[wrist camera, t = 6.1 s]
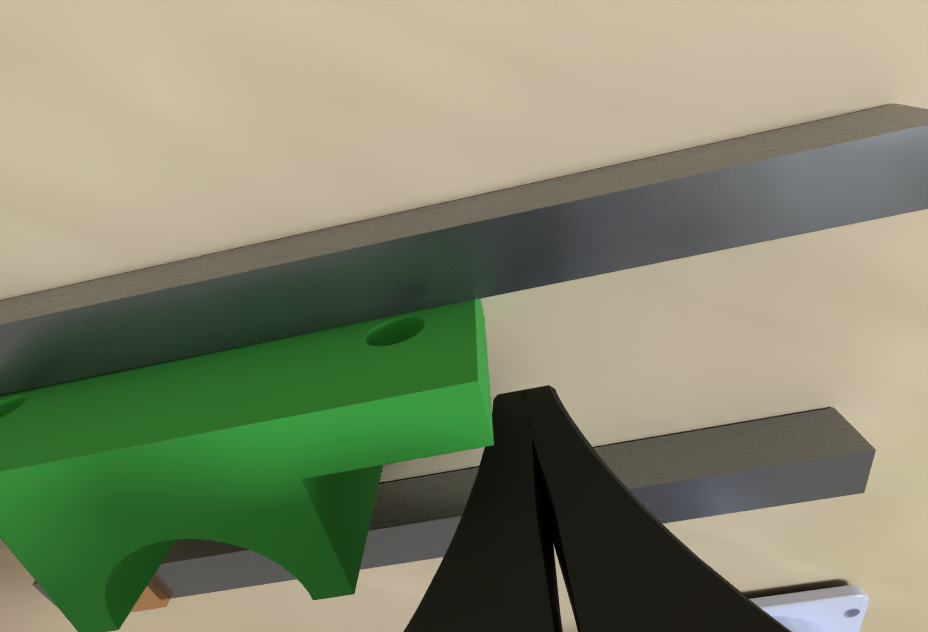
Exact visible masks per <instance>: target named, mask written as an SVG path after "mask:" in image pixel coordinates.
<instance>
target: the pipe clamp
mask: <svg viewBox="0 0 928 632" xmlns="http://www.w3.org/2000/svg"><path fill="white" fill-rule="evenodd" d="M491 445H494V438H493V425H492V411H491V398H490V385H489V372H488V358H487V345H486V332H485V319H484V314H483V310H482V305H481V301H480V299H474V300H469V301H464V302H460V303H455V304H450V305H445V306H440V307H435V308H430V309H425V310H420V311H415V312H410V313H405V314H400V315H395V316H390V317H385V318H380V319H375V320H370V321H365V322H360V323H355V324H350V325H345V326H340V327H335V328H330V329H325V330H320V331H315V332H310V333H305V334H300V335H295V336H290V337H285V338H280V339H275V340H270V341H266V342H261V343H256V344H251V345H246V346H241V347H236V348H231V349H226V350H221V351H216V352H211V353H206V354H201V355H196V356H191V357H186V358H181V359H176V360H171V361H166V362H161V363H156V364H151V365H146V366H141V367H136V368H131V369H126V370H121V371H116V372H111V373H106V374H101V375H96V376H91V377H86V378H81V379H76V380H71V381H66V382H61V383H56V384H51V385H46V386H41V387H36V388H31V389H26V390H21V391H16V392H11V393H6V394H1V395H0V538H1V539H2V540H3V541H4V543H5V544H6V545H7V546H8V547H9V549H10V550H11V551H12V552H13V553H14V555H15V556H16V557H17V558H18V559H19V561H20V562H21V563H22V564H23V566H24V567H25V568H26V569H27V570H28V572H29V573H30V574H31V575H32V576H33V578H34V579H35V580H36V581H37V582H38V584H39V585H40V586H41V587H42V588H43V590H44V591H45V592H46V593H47V595H48V596H49V597H50V598H51V599H52V601H53V602H54V603H55V604H56V605H57V607H58V608H59V609H60V610H61V611H62V613H63V614H64V615H65V616H66V617H67V619H68V620H69V621H70V622H71V624H72V625H73V626H74V627H75V628H76V630H77V631H78V632H108V631H115V630H119V628H120V627H121V625H122V624H123V622H124V621H125V619H126V618H127V616H128V615H129V613H130V611H131V610H132V608H133V607H134V605H135V604H136V602H137V601H138V599H139V598H140V596H141V594H142V593H143V591H144V590H145V588H146V587H147V585H148V584H149V582H150V580H151V579H152V577H153V576H154V574H155V573H156V571H157V570H158V568H159V567H160V565H161V563H162V562H163V560H164V559H165V557H166V556H167V554H168V553H169V551H170V549H171V548H172V546H173V545H174V543H175V542H176V540H177V539H202V540H212V541H218V542H224V543H228V544H232V545H236V546H239V547H242V548H246V549H248V550H251V551H253V552H256V553H258V554H260V555H262V556H265V557H267V558H269V559H270V560H272V561H274V562H275V563H277V564H279V565H280V566H282V567H283V568H284V569H286V570H287V571H289V572H290V573H291V574H292V575H293V576H294V577H296V578H297V579H298V580H299V581H300V583H301V584H302V585H303V586H304V587H305V588H306V590H307V591H308V592H309V594H310V595H311V597H312V599H313V600H318V599H325V598H331V597H338V596H344V595H351V594H354V593H355V588H356V584H357V579H358V575H359V570H360V566H361V562H362V557H363V553H364V548H365V544H366V539H367V535H368V530H369V526H370V521H371V517H372V513H373V508H374V504H375V499H376V495H377V490H378V486H379V481H380V477H381V472H382V468H383V465H384V464H390V463H395V462H401V461H407V460H412V459H418V458H424V457H429V456H435V455H441V454H446V453H452V452H458V451H463V450H469V449H474V448H480V447H486V446H491Z"/></svg>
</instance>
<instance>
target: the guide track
mask: <svg viewBox="0 0 928 632" xmlns="http://www.w3.org/2000/svg"><path fill="white" fill-rule="evenodd" d="M924 209H928V109H922V108H917V107H911V106H906V105H900V104H890V105H886V106H881V107H877V108H872V109H868V110H863V111H859V112H854V113H850V114H845V115H841V116H836V117H831V118H827V119H822V120H818V121H813V122H809V123H804V124H800V125H795V126H791V127H786V128H782V129H777V130H772V131H768V132H763V133H759V134H754V135H750V136H745V137H741V138H736V139H732V140H727V141H723V142H718V143H713V144H709V145H704V146H700V147H695V148H691V149H686V150H682V151H677V152H673V153H668V154H664V155H659V156H654V157H650V158H645V159H641V160H636V161H632V162H627V163H623V164H618V165H614V166H609V167H605V168H600V169H595V170H591V171H586V172H582V173H577V174H573V175H568V176H564V177H559V178H555V179H550V180H546V181H541V182H536V183H532V184H527V185H523V186H518V187H514V188H509V189H505V190H500V191H496V192H491V193H487V194H482V195H477V196H473V197H468V198H464V199H459V200H455V201H450V202H446V203H441V204H437V205H432V206H428V207H423V208H418V209H414V210H409V211H405V212H400V213H396V214H391V215H387V216H382V217H378V218H373V219H369V220H364V221H359V222H355V223H350V224H346V225H341V226H337V227H332V228H328V229H323V230H319V231H314V232H310V233H305V234H300V235H296V236H291V237H287V238H282V239H278V240H273V241H269V242H264V243H260V244H255V245H251V246H246V247H241V248H237V249H232V250H228V251H223V252H219V253H214V254H210V255H205V256H201V257H196V258H192V259H187V260H182V261H178V262H173V263H169V264H164V265H160V266H155V267H151V268H146V269H142V270H137V271H133V272H128V273H123V274H119V275H114V276H110V277H105V278H101V279H96V280H92V281H87V282H83V283H78V284H74V285H69V286H64V287H60V288H55V289H51V290H46V291H42V292H37V293H33V294H28V295H24V296H19V297H15V298H10V299H5V300H1V301H0V395H1V394H6V393H11V392H16V391H21V390H26V389H31V388H36V387H41V386H46V385H51V384H56V383H61V382H66V381H71V380H76V379H81V378H86V377H91V376H96V375H101V374H106V373H111V372H116V371H121V370H126V369H131V368H136V367H141V366H146V365H151V364H156V363H161V362H166V361H171V360H176V359H181V358H186V357H191V356H196V355H201V354H206V353H211V352H216V351H221V350H226V349H231V348H236V347H241V346H246V345H251V344H256V343H261V342H266V341H270V340H275V339H280V338H285V337H290V336H295V335H300V334H305V333H310V332H315V331H320V330H325V329H330V328H335V327H340V326H345V325H350V324H355V323H360V322H365V321H370V320H375V319H380V318H385V317H390V316H395V315H400V314H405V313H410V312H415V311H420V310H425V309H430V308H435V307H440V306H445V305H450V304H455V303H460V302H464V301H469V300H474V299H480V298H485V297H490V296H495V295H500V294H505V293H510V292H515V291H520V290H525V289H530V288H535V287H540V286H545V285H550V284H555V283H560V282H565V281H570V280H575V279H580V278H585V277H590V276H595V275H600V274H604V273H609V272H614V271H619V270H624V269H629V268H634V267H639V266H644V265H649V264H654V263H659V262H664V261H669V260H674V259H679V258H684V257H689V256H694V255H699V254H704V253H709V252H714V251H719V250H724V249H729V248H734V247H739V246H744V245H749V244H754V243H759V242H764V241H769V240H774V239H779V238H784V237H789V236H794V235H799V234H804V233H809V232H814V231H819V230H824V229H829V228H834V227H839V226H844V225H849V224H854V223H859V222H864V221H869V220H874V219H879V218H884V217H889V216H894V215H899V214H904V213H909V212H914V211H919V210H924ZM594 450H595V451H596V452H597V453H598V455H599V456H600V457H601V458H602V460H603V461H604V462H605V463H606V465H607V466H608V467H609V468H610V469H611V470H612V472H613V473H614V474H615V475H616V476H617V477H618V478H619V480H620V481H621V482H622V483H623V484H624V485H625V486H626V487H627V488H628V490H629V491H630V492H631V493H632V494H633V495H634V496H635V497H636V498H637V499H638V500H639V501H640V502H641V503H642V504H643V505H644V506H645V507H646V508H647V509H648V511H649V512H650V513H651V514H653V515H654V516H655V517H656V518H657V519H658V520H659V521H660V522H661V523H669V522H675V521H682V520H689V519H695V518H702V517H708V516H715V515H721V514H728V513H735V512H741V511H748V510H754V509H761V508H767V507H774V506H780V505H787V504H794V503H800V502H807V501H813V500H820V499H826V498H833V497H840V496H846V495H853V494H859V493H864V491H865V488H866V484H867V480H868V477H869V473H870V469H871V466H872V462H873V458H874V455H875V451H876V450H875V449H874V448H873V447H872V446H871V445H870V444H869V443H868V442H867V441H866V440H865V439H864V438H863V437H862V436H861V435H860V433H859V432H858V431H857V430H856V429H855V428H854V427H853V426H852V425H851V424H850V423H849V422H848V421H847V420H846V419H845V418H844V417H843V416H842V415H841V414H840V413H839V412H838V411H837V410H836V409H835V408H828V409H822V410H816V411H810V412H804V413H798V414H792V415H786V416H780V417H774V418H768V419H762V420H756V421H751V422H745V423H739V424H733V425H727V426H721V427H715V428H709V429H703V430H697V431H691V432H685V433H679V434H673V435H667V436H661V437H656V438H650V439H644V440H638V441H632V442H626V443H620V444H614V445H608V446H602V447H596V448H594ZM478 469H479V467H477V468H472V469H466V470H460V471H454V472H448V473H442V474H436V475H430V476H424V477H418V478H412V479H406V480H400V481H394V482H388V483H382V484H379V486H378V490H377V495H376V499H375V504H374V508H373V513H372V517H371V521H370V526H369V530H368V535H367V539H366V544H365V548H364V553H363V557H362V562H361V566H360V570H361V569H367V568H374V567H380V566H387V565H393V564H400V563H406V562H413V561H420V560H426V559H433V558H439V557H444V556H445V554H446V552H447V549H448V547H449V545H450V543H451V541H452V538H453V536H454V534H455V532H456V529H457V527H458V524H459V522H460V520H461V517H462V515H463V512H464V509H465V507H466V504H467V501H468V498H469V496H470V493H471V490H472V487H473V485H474V482H475V479H476V476H477V473H478ZM295 579H297V578H296V577H294V576H293V575H292V574H291V573H290V572H289V571H287V570H286V569H284V568H283V567H282V566H280V565H279V564H277V563H275V562H274V561H272V560H270V559H269V558H267V557H265V556H262V555H260V554H258V553H256V552H253V551H251V550H248V549H246V548H242V547H239V546H236V545H232V544H228V543H224V542H218V541H212V540H202V539H177V540H176V542H175V543H174V545H173V546H172V548H171V549H170V551H169V553H168V554H167V556H166V557H165V559H164V560H163V562H162V563H161V565H160V567H159V568H158V570H157V571H156V573H155V574H154V576H153V577H152V579H151V580H150V582H149V584H148V585H147V587H146V588H145V590H144V591H143V593H142V594H141V596H140V598H139V599H138V601H137V602H136V604H135V605H134V607H133V608H132V610H131V611H130V612H135V611H142V610H148V609H155V608H161V607H166V606H167V604H168V602H169V600H170V598H177V597H183V596H190V595H196V594H203V593H210V592H216V591H223V590H229V589H236V588H242V587H249V586H256V585H262V584H269V583H275V582H282V581H288V580H295ZM32 585H33V586H34V587H36V588H37V589H38V590H39V591H40V592H41V593H42V594H43V595H44V596H46V597H47V598H48V599H49V600H50V601H51V602H52V603H53V604H54V605H56V604H55V603H54V602H53V601H52V599H51V598H50V597H49V596H48V595H47V593H46V592H45V591H44V590H43V588H42V587H41V586H40V585H39V584H38V582H37V581H36V580H35V582H34V583H33V584H32ZM56 606H57V605H56Z"/></svg>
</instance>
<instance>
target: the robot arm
mask: <svg viewBox="0 0 928 632" xmlns="http://www.w3.org/2000/svg"><path fill="white" fill-rule="evenodd" d="M492 425H493V438H494V445H491V446H486V447H485V449H484V452H483V456H482V459H481V463H480V466H479V469H478V473H477V476H476V479H475V482H474V485H473V487H472V490H471V493H470V496H469V498H468V501H467V504H466V507H465V509H464V512H463V515H462V517H461V520H460V522H459V524H458V527H457V529H456V532H455V534H454V536H453V538H452V541H451V543H450V545H449V547H448V549H447V552H446V554H445V556H444V558H443V560H442V562H441V564H440V566H439V568H438V570H437V572H436V574H435V576H434V578H433V580H432V582H431V584H430V586H429V588H428V589H427V591H426V593H425V595H424V597H423V599H422V601H421V603H420V604H419V606H418V608H417V610H416V612H415V613H414V615H413V617H412V619H411V620H410V622H409V624H408V625H407V627H406V629H405V630H404V632H563V630H562V623H561V616H560V607H559V597H558V587H557V577H556V567H555V557H554V547H555V550H556V554H557V557H558V561H559V564H560V568H561V571H562V575H563V578H564V582H565V585H566V589H567V592H568V596H569V599H570V603H571V606H572V610H573V614H574V618H575V622H576V626H577V630H578V632H859V630H860V627H861V624H862V621H863V618H864V615H865V612H866V609H867V606H868V603H869V598H868V596H867V595H866V593H865V592H864V591H863V589H862V588H861V587H859V586H855V585H847V586H840V587H832V588H825V589H818V590H810V591H803V592H796V593H788V594H781V595H774V596H766V597H759V598H752V599H748V598H747V597H746V596H745V595H744V594H742V593H741V592H740V591H739V590H738V589H736V588H735V587H734V586H733V585H731V584H730V583H729V582H728V581H727V580H725V579H724V578H723V577H722V576H721V575H719V574H718V573H717V572H716V571H714V570H713V569H712V568H711V567H710V566H708V565H707V564H706V563H705V562H704V561H702V560H701V559H700V558H699V557H698V556H696V555H695V554H694V553H693V552H692V551H691V550H690V549H689V548H688V547H687V546H685V545H684V544H683V543H682V542H681V541H680V540H679V539H678V538H677V537H676V536H674V535H673V534H672V533H671V532H670V531H669V530H668V529H667V528H666V527H665V526H664V525H663V524H662V523H661V522H660V521H659V520H658V519H657V518H656V517H655V516H654V515H653V514H651V513H650V512H649V511H648V509H647V508H646V507H645V506H644V505H643V504H642V503H641V502H640V501H639V500H638V499H637V498H636V497H635V496H634V495H633V494H632V493H631V492H630V491H629V490H628V488H627V487H626V486H625V485H624V484H623V483H622V482H621V481H620V480H619V478H618V477H617V476H616V475H615V474H614V473H613V472H612V470H611V469H610V468H609V467H608V466H607V465H606V463H605V462H604V461H603V460H602V458H601V457H600V456H599V455H598V453H597V452H596V451H595V450H594V448H593V447H592V446H591V445H590V443H589V442H588V441H587V439H586V438H585V437H584V435H583V434H582V433H581V431H580V430H579V429H578V427H577V426H576V424H575V423H574V421H573V420H572V418H571V417H570V415H569V414H568V412H567V411H566V409H565V407H564V406H563V404H562V402H561V400H560V398H559V397H558V395H557V392H556V390H555V389H554V388H553V387H551V386H549V385H548V386H543V387H537V388H532V389H526V390H520V391H515V392H509V393H504V394H498V395H497V396H496V397H495V399H494V400H493V411H492ZM553 543H554V547H553Z"/></svg>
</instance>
